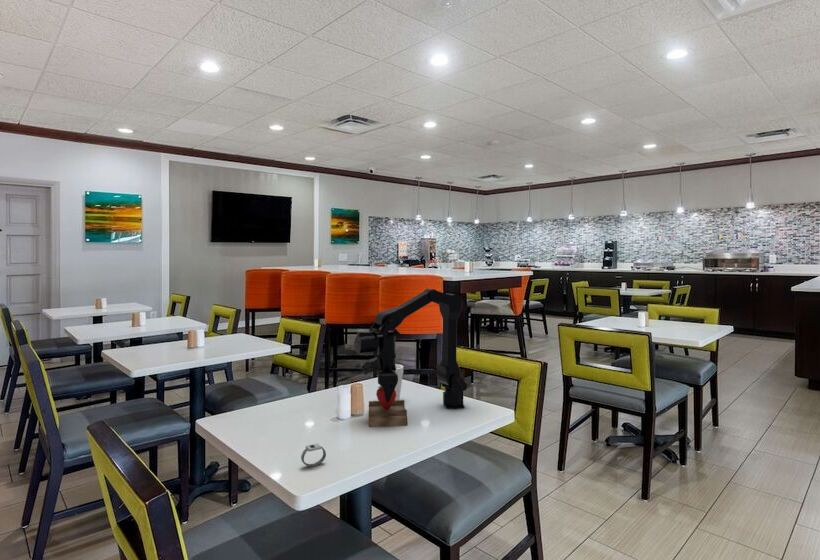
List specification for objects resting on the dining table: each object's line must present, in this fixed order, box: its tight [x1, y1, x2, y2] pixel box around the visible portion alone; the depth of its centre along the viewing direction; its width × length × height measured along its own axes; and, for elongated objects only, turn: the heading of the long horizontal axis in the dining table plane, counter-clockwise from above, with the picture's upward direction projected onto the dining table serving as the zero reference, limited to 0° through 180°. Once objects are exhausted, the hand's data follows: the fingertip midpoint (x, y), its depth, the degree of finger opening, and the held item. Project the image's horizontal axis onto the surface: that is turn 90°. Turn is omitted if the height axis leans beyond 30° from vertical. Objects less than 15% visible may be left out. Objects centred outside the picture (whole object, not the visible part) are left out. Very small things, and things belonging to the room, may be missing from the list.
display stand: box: [368, 399, 408, 428], centre depth 155 cm, size 12×16×4 cm
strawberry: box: [376, 385, 396, 410], centre depth 155 cm, size 6×8×10 cm
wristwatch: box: [300, 443, 327, 468], centre depth 119 cm, size 6×3×5 cm, turn 121°
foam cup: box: [379, 363, 404, 400], centre depth 172 cm, size 10×9×13 cm
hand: (387, 397), depth 155 cm, fingers open, 9 cm apart
